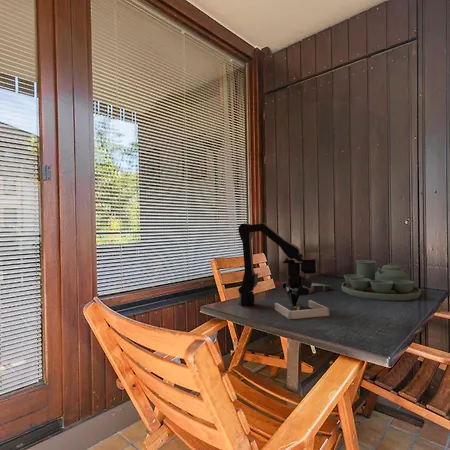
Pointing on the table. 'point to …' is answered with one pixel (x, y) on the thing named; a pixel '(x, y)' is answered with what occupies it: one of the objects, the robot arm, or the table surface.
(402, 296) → the tea set
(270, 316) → the table surface
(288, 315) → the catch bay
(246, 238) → the robot arm
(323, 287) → the toy hammer
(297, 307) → the key
